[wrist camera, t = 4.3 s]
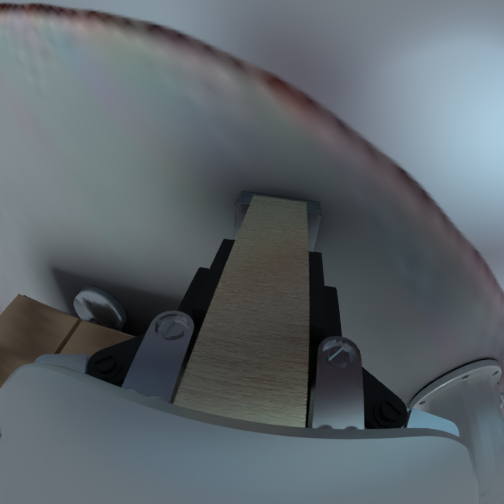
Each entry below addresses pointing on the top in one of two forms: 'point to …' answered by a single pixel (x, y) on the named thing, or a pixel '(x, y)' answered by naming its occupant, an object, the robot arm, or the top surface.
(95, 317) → the steel token
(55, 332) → the cabinet
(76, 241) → the top surface
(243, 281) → the wood and grey l-block
